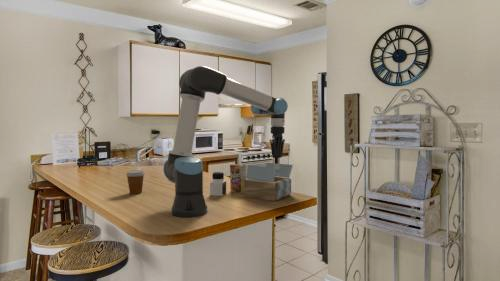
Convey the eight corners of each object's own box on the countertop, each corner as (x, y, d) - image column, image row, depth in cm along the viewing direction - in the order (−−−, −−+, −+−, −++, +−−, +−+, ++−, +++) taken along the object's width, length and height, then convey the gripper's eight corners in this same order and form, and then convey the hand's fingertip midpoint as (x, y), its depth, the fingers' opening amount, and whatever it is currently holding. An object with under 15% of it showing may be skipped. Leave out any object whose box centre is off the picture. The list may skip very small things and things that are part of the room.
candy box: (229, 191, 184) (229, 164, 184) (235, 190, 188) (235, 163, 187) (240, 193, 178) (240, 165, 177) (246, 192, 181) (246, 165, 180)
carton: (276, 201, 160) (276, 183, 160) (243, 196, 172) (243, 179, 172) (292, 195, 173) (292, 178, 173) (260, 190, 185) (260, 175, 185)
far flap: (288, 176, 174) (291, 164, 177) (263, 174, 183) (266, 162, 186) (289, 177, 175) (292, 165, 178) (264, 174, 184) (267, 163, 187)
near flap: (247, 178, 171) (249, 165, 172) (273, 181, 162) (275, 167, 163) (246, 178, 170) (248, 165, 171) (272, 181, 161) (274, 167, 162)
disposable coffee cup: (123, 194, 178) (122, 172, 177) (133, 190, 187) (132, 170, 186) (138, 195, 175) (138, 173, 175) (148, 191, 185) (147, 170, 184)
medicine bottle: (222, 196, 173) (222, 173, 172) (209, 195, 174) (209, 173, 173) (226, 193, 180) (226, 171, 179) (213, 192, 181) (213, 171, 180)
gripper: (277, 126, 172) (277, 171, 172) (289, 126, 182) (288, 169, 182) (265, 126, 176) (265, 170, 177) (277, 126, 186) (276, 168, 187)
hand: (277, 169), depth 180 cm, fingers closed
